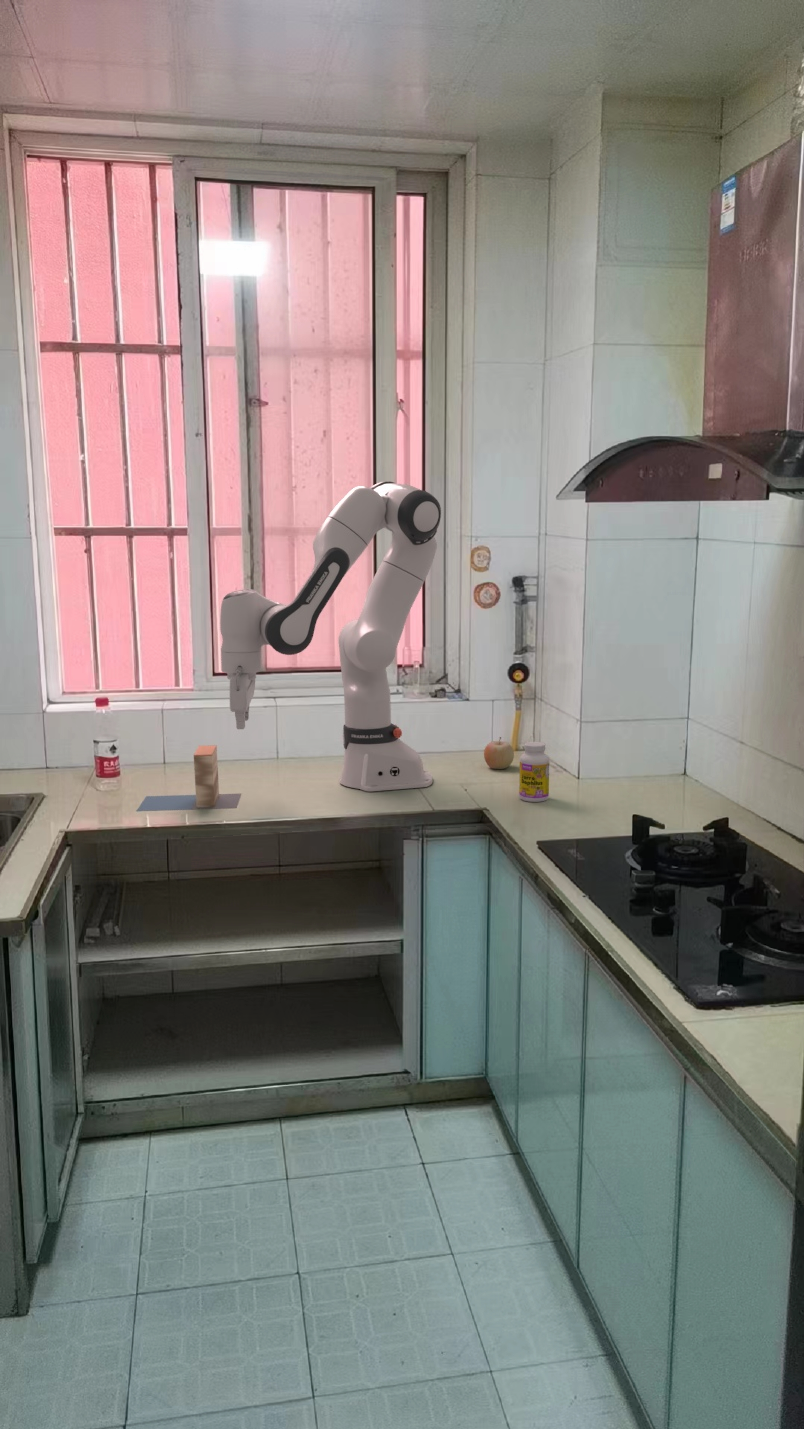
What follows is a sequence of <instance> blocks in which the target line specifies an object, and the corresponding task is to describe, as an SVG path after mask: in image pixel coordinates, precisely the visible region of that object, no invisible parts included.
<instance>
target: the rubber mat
mask: <svg viewBox="0 0 804 1429" xmlns="http://www.w3.org/2000/svg"><path fill="white" fill-rule="evenodd" d="M242 794H243V793H219V798H218V800H217V802H216V805H215V807H197V806H196V794H183V795H182V794H181V795H179V794H175V795H147V796H145V797H144V799H143V800H142V802H141V803H140V805H139V806H138V807H137V810H136V812H152V811H153V812H157V811H186V810H187V811H190V810H192V811H193V810H217V809H218V810H219V809H220V810H221V809H222V810H223V809H225V810H227V809H238V808H237V807H238V805H239V802H240V799H241V797H242Z"/></svg>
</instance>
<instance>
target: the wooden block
mask: <svg viewBox="0 0 804 1429" xmlns="http://www.w3.org/2000/svg"><path fill="white" fill-rule="evenodd" d="M193 766H194V783H195V785H194V786H195V795H196V806H197V807H215V805H216V802H217V800H218V798H219V794H220V786H219V785H220V784H219V770H218V769H219V765H218V746H217V745H215V744H214V745H198V747H197V749H195V752H194V754H193Z"/></svg>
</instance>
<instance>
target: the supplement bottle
mask: <svg viewBox="0 0 804 1429" xmlns="http://www.w3.org/2000/svg"><path fill="white" fill-rule="evenodd" d="M523 748H524V749H523V750H524V751H525V752H524V753H523V754H521V755H520V757H519V779H518V780H519V781H518V782H519V787H518V788H519V789H518V790H519V791H518V794H519V795H518V796H519V799H521V801H524V802H530V803H540V802H545V801H547V800H548V799H549V796H550V793H549V792H550V757H549V756H548V755H547V754H546V753H545V751H546V744H545V743H544V742H543V741H542V742H541V741H527V742H524V747H523Z"/></svg>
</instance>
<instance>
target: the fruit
mask: <svg viewBox="0 0 804 1429" xmlns="http://www.w3.org/2000/svg"><path fill="white" fill-rule="evenodd" d="M501 739H502V737H501V736H499V740H493V741H491V742H489V743H488V744H487V745H486V746H485V747H484V748H485V749H484V750H483V758H484V762H485V763H486V765H487V766H488V767H489V768H491V769H493V770H503V769H507V768H509V767H510V766H511V764H512V763H513V761H514V758H515V752H514V749H513V746H512V745H511V744H510V743H508V741H507V742H506V741H503V740H501Z"/></svg>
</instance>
